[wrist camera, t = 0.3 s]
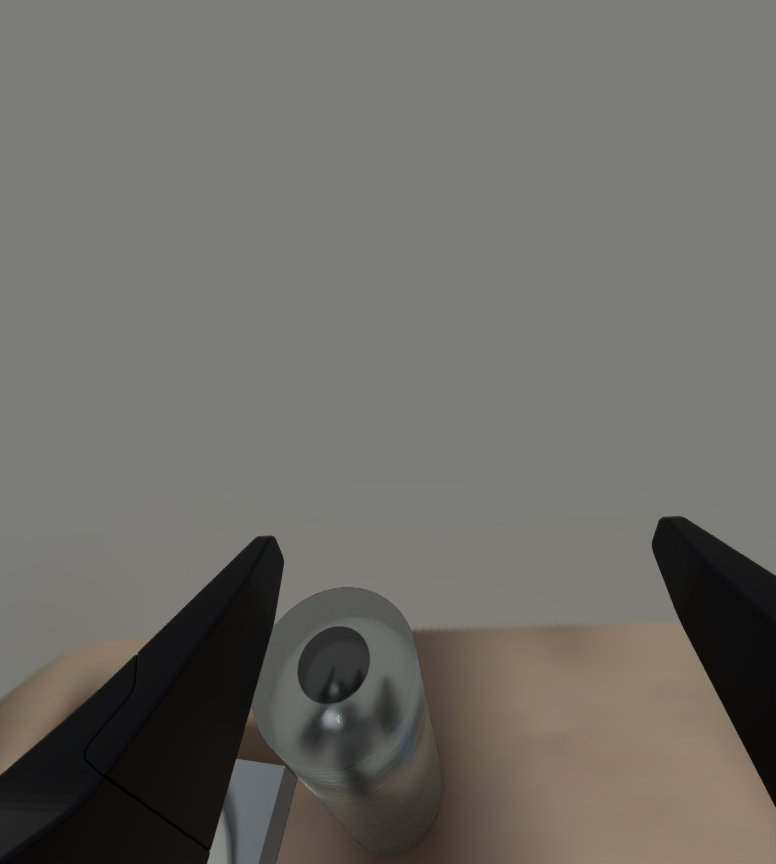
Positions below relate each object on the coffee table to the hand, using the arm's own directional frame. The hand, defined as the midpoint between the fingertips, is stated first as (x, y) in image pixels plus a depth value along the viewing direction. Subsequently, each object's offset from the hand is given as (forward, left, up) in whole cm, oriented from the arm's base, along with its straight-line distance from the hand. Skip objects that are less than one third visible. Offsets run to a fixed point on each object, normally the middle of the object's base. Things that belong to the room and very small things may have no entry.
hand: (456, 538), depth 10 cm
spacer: (-1, +4, -16) cm, 17 cm away
